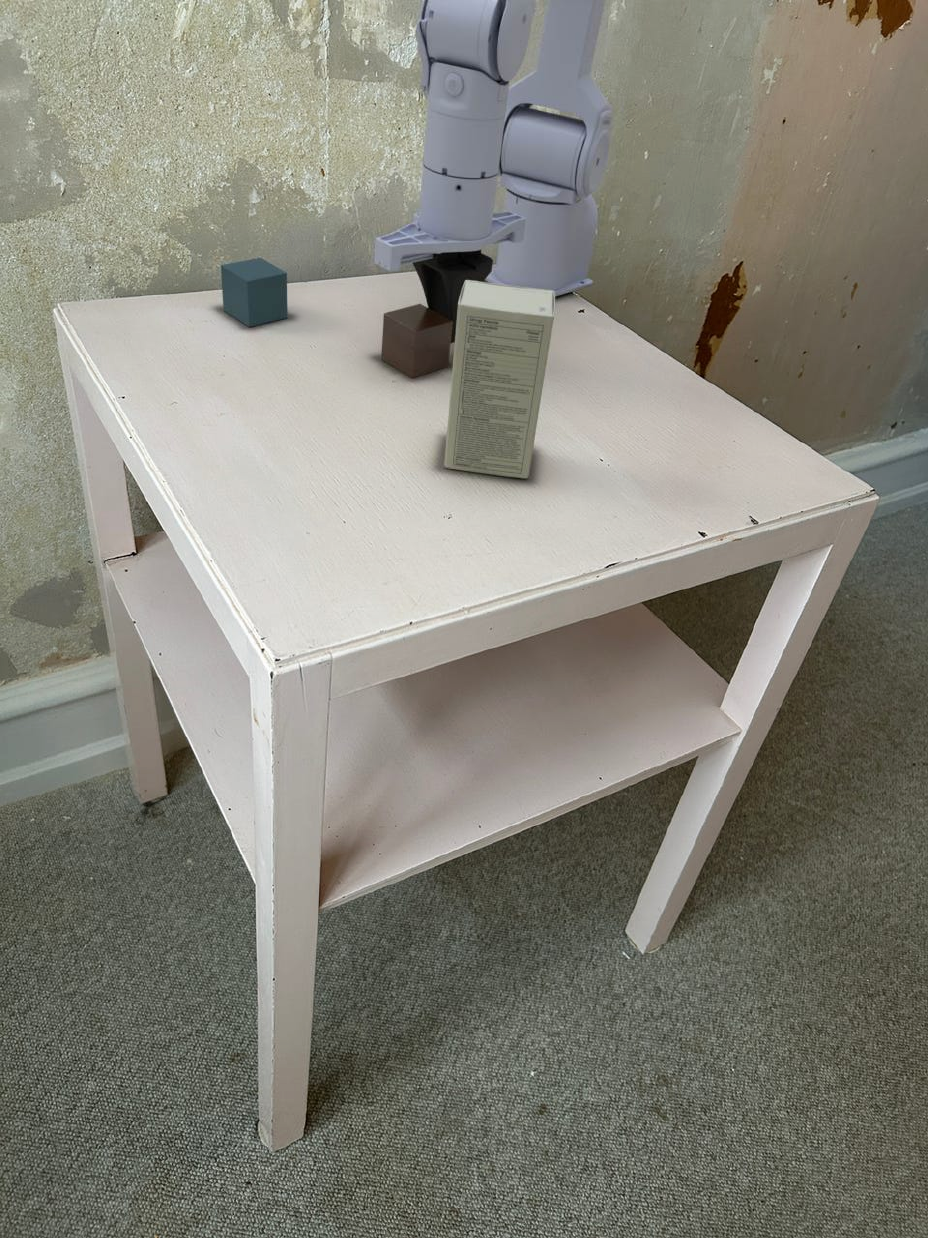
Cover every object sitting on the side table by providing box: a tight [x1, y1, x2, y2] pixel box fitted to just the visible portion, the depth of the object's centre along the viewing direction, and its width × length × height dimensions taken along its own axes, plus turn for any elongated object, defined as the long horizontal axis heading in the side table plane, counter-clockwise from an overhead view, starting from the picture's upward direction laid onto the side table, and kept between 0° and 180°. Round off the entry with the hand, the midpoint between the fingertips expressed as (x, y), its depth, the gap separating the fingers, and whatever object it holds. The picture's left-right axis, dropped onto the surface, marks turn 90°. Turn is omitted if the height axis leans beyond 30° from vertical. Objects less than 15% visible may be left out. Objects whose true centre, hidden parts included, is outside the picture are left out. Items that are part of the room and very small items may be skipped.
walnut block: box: [380, 303, 453, 379], centre depth 78 cm, size 4×4×4 cm
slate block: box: [220, 257, 288, 328], centre depth 82 cm, size 4×4×4 cm
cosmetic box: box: [443, 280, 556, 479], centre depth 64 cm, size 6×4×12 cm
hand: (443, 338), depth 80 cm, fingers closed
